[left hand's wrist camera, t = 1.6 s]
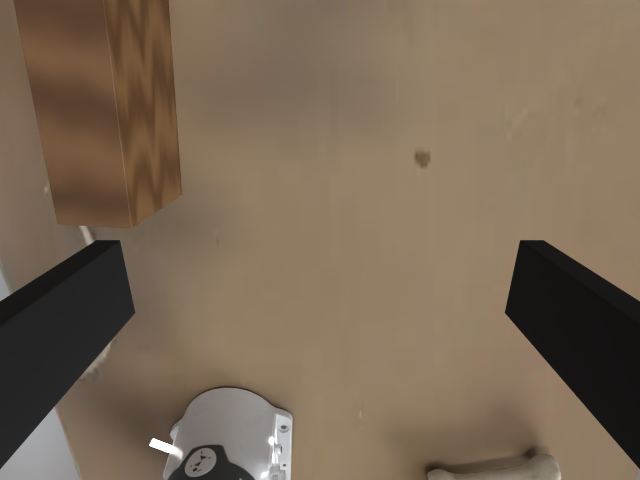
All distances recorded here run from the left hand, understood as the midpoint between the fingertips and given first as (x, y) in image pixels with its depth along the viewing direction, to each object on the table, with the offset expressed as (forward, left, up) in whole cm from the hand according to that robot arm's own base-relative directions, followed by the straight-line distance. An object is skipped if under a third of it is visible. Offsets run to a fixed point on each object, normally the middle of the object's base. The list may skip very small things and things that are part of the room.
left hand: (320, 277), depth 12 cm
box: (-4, -19, -32) cm, 38 cm away
